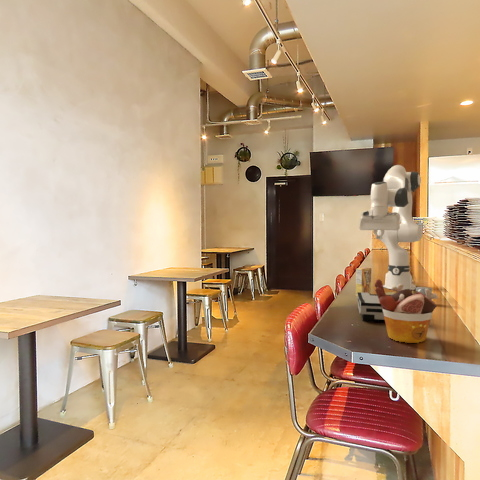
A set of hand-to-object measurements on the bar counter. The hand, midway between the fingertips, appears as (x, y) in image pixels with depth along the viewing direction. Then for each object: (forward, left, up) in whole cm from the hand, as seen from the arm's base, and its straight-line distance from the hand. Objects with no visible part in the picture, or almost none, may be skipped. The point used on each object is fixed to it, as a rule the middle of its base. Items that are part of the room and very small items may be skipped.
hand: (379, 239), depth 207 cm
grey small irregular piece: (+4, +23, -31) cm, 39 cm away
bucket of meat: (+70, +31, -31) cm, 83 cm away
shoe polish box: (+8, +7, -29) cm, 31 cm away
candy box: (0, -8, -31) cm, 32 cm away
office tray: (+38, +14, -32) cm, 51 cm away
